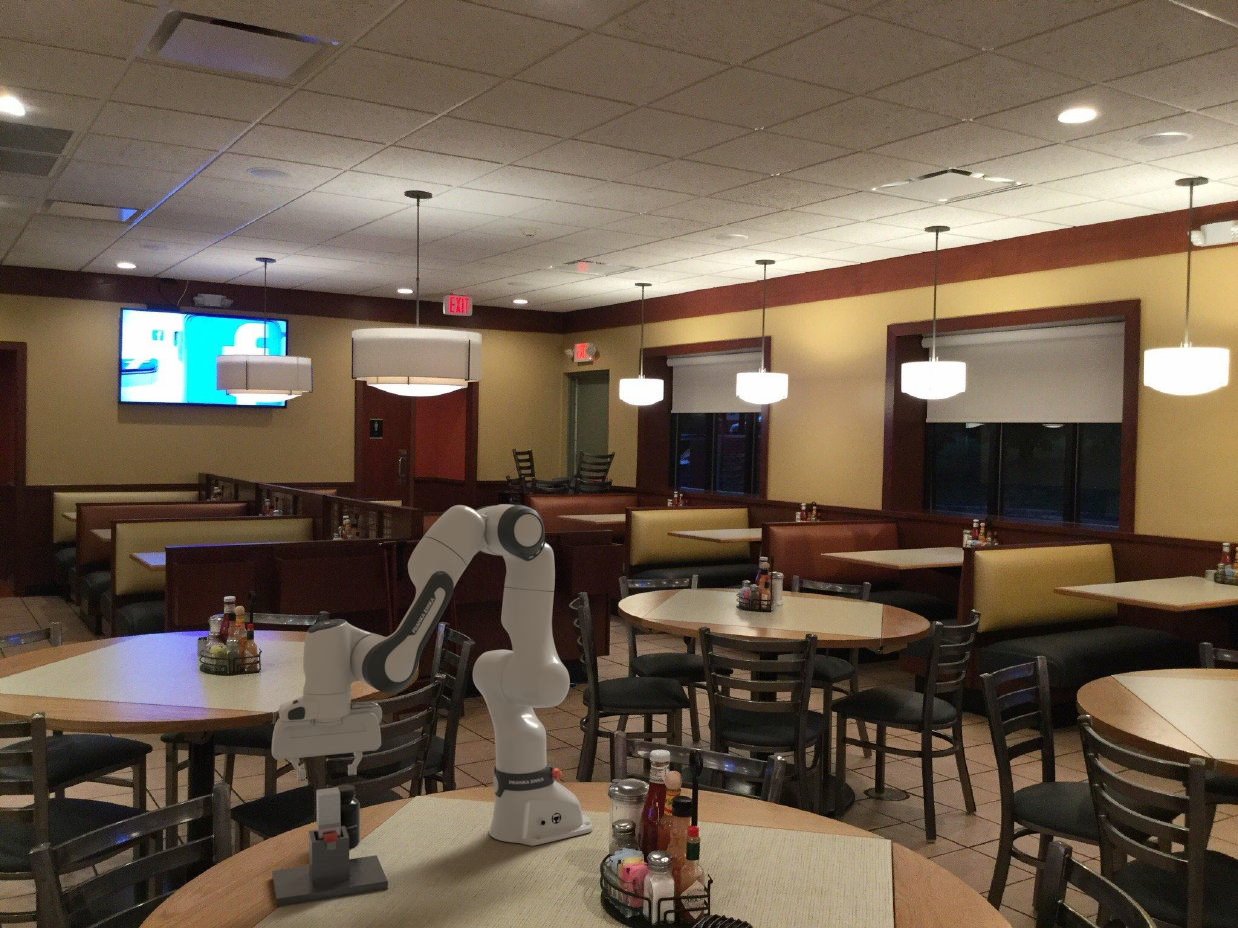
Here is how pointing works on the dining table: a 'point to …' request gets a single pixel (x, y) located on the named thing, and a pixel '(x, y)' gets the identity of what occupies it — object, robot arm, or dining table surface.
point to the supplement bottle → (350, 813)
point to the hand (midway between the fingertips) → (327, 777)
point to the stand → (328, 873)
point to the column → (328, 812)
